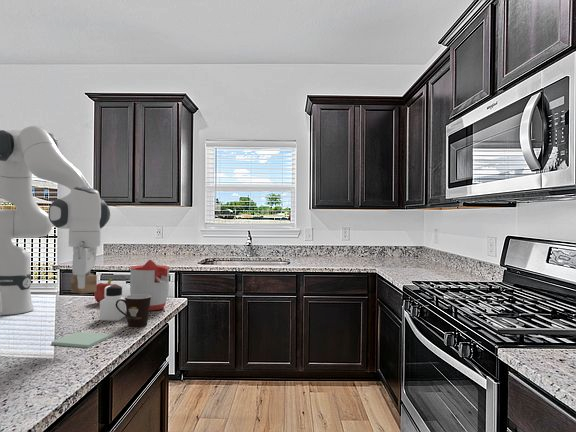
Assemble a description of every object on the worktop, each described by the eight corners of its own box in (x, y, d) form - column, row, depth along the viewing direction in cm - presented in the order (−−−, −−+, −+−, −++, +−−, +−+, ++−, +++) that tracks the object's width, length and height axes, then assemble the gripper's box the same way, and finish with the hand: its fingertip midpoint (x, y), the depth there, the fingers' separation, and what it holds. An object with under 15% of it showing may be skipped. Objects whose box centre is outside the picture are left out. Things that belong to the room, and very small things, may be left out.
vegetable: (99, 300, 198) (100, 277, 198) (123, 300, 199) (124, 278, 199) (90, 305, 187) (90, 281, 187) (115, 306, 188) (116, 282, 188)
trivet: (51, 344, 133) (51, 341, 133) (77, 334, 145) (77, 331, 145) (88, 347, 131) (88, 345, 131) (111, 336, 143) (111, 334, 142)
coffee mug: (155, 324, 159) (156, 296, 159) (136, 329, 152) (136, 299, 152) (133, 319, 165) (133, 292, 165) (113, 324, 158) (113, 295, 158)
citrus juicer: (147, 315, 173) (148, 263, 172) (121, 308, 183) (122, 259, 183) (179, 309, 185) (180, 260, 185) (153, 303, 196) (154, 256, 195)
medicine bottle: (125, 316, 170) (126, 284, 170) (119, 320, 163) (119, 287, 163) (106, 316, 170) (107, 284, 170) (99, 320, 163) (99, 287, 163)
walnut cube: (71, 292, 136) (71, 275, 136) (85, 289, 141) (85, 273, 141) (82, 293, 134) (82, 276, 134) (96, 291, 138) (96, 275, 138)
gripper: (91, 242, 128) (90, 291, 128) (99, 238, 148) (98, 280, 148) (67, 242, 127) (65, 292, 127) (78, 238, 146) (77, 281, 146)
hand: (83, 286), depth 137 cm, fingers closed on walnut cube, 7 cm apart
